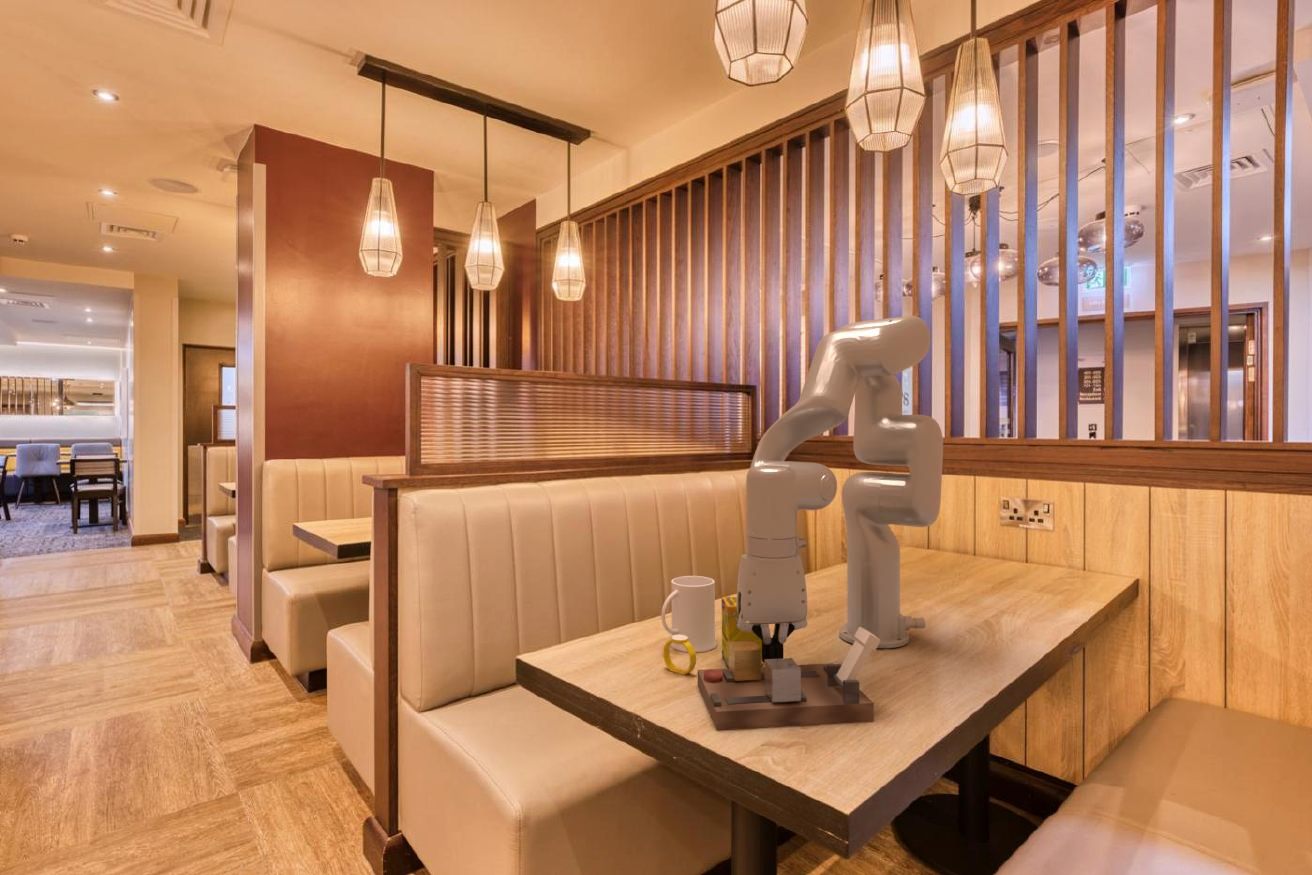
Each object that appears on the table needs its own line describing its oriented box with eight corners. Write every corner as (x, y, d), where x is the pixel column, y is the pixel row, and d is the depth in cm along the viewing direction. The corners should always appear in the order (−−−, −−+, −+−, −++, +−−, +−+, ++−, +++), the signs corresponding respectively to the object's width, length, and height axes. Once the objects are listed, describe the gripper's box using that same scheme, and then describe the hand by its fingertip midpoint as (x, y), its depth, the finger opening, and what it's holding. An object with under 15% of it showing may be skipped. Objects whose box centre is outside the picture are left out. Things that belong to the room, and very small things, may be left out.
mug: (674, 660, 114) (673, 591, 113) (647, 646, 121) (646, 581, 121) (725, 646, 120) (725, 581, 120) (697, 634, 127) (696, 573, 127)
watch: (698, 675, 108) (700, 640, 107) (688, 680, 106) (690, 644, 105) (669, 664, 111) (671, 630, 111) (659, 669, 109) (661, 634, 109)
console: (832, 678, 105) (832, 644, 105) (873, 720, 90) (873, 681, 90) (697, 685, 103) (697, 650, 102) (716, 730, 88) (716, 689, 88)
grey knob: (791, 689, 94) (791, 657, 94) (800, 700, 90) (800, 668, 90) (764, 690, 93) (764, 659, 93) (772, 702, 89) (772, 669, 89)
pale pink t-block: (839, 683, 95) (868, 631, 96) (852, 696, 91) (882, 641, 91) (829, 677, 95) (858, 625, 95) (841, 690, 91) (871, 635, 91)
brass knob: (754, 669, 101) (754, 640, 101) (761, 679, 97) (760, 649, 97) (728, 670, 101) (728, 641, 101) (734, 680, 97) (734, 650, 97)
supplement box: (721, 658, 114) (720, 596, 114) (754, 657, 115) (754, 595, 114) (727, 671, 108) (727, 606, 108) (763, 670, 109) (762, 604, 109)
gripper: (810, 541, 104) (811, 655, 104) (718, 544, 102) (719, 660, 103) (828, 550, 96) (829, 673, 97) (729, 553, 95) (730, 679, 95)
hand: (772, 666), depth 100 cm, fingers closed
